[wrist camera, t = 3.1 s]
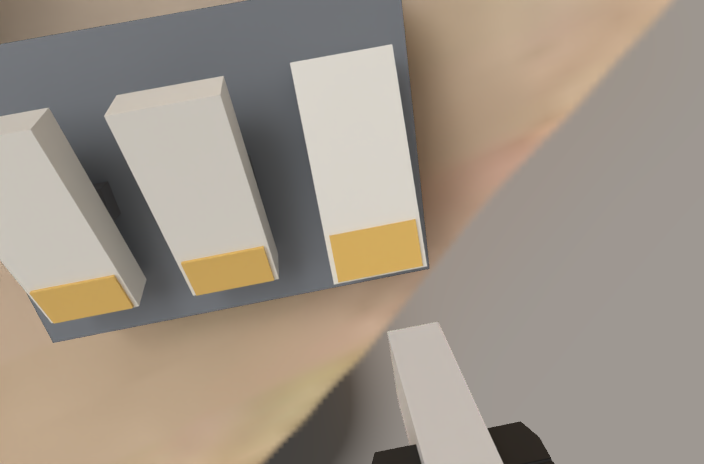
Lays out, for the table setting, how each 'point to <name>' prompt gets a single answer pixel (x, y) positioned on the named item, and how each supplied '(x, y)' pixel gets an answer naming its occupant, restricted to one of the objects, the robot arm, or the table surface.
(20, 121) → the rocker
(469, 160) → the table surface
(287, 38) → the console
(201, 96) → the rocker mid
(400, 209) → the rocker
